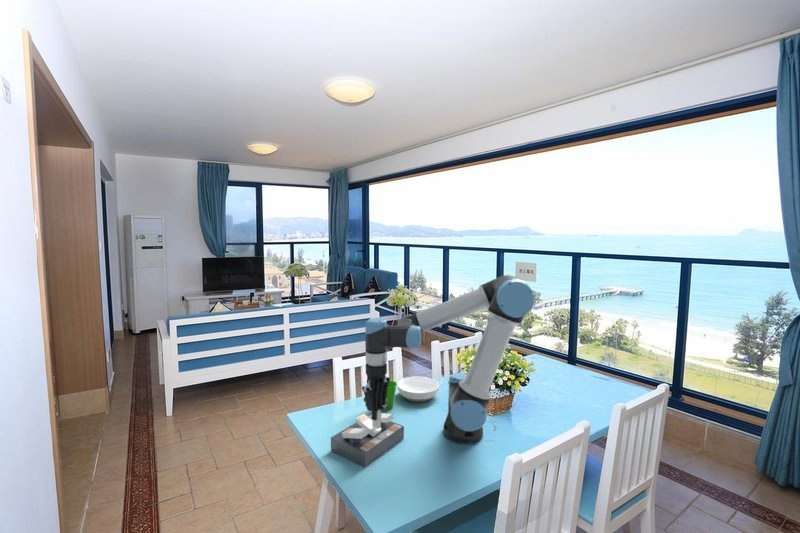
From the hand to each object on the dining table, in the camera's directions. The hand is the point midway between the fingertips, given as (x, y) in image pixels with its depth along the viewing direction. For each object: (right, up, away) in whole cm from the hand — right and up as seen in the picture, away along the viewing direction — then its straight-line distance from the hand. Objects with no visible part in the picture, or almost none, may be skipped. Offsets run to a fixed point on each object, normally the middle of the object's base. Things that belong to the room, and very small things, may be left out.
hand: (376, 426), depth 139 cm
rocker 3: (+1, 0, +8) cm, 8 cm away
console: (-3, -8, +3) cm, 9 cm away
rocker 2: (-3, 0, +2) cm, 4 cm away
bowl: (+17, -4, +44) cm, 47 cm away
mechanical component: (-1, -6, +20) cm, 21 cm away
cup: (+3, -5, +32) cm, 33 cm away
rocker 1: (-7, -1, -3) cm, 8 cm away
